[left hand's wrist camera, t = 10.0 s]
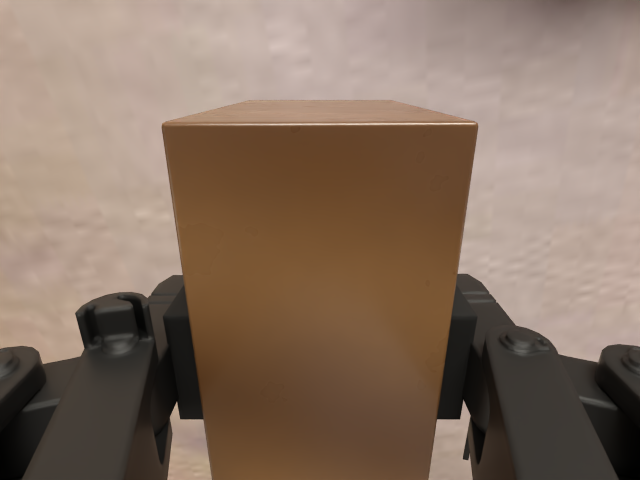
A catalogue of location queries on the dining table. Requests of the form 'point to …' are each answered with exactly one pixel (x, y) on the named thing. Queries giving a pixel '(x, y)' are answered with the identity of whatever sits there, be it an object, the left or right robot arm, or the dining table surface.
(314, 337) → the beam
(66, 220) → the dining table surface
